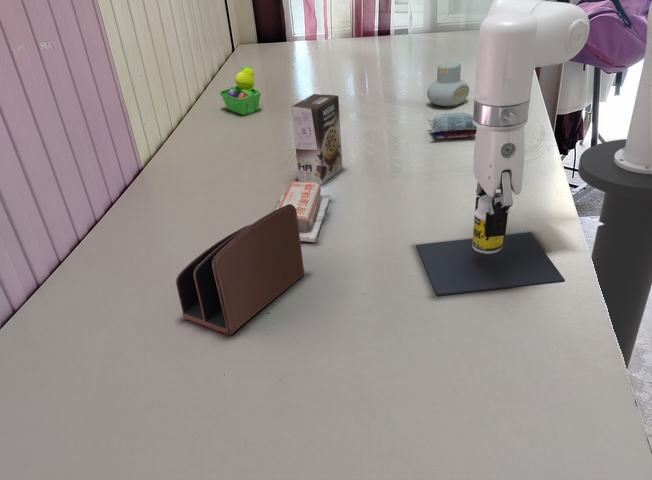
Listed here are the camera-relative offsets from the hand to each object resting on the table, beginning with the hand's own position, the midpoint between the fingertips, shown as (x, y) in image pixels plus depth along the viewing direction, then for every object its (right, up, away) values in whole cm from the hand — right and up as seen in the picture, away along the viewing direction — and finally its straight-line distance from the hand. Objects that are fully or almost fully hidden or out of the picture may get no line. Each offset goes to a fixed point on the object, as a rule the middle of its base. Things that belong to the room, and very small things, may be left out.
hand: (489, 226), depth 101 cm
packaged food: (+6, +32, +51) cm, 60 cm away
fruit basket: (-46, +49, +81) cm, 106 cm away
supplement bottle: (0, -3, +2) cm, 4 cm away
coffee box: (-26, +19, +39) cm, 51 cm away
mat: (+1, -5, +4) cm, 7 cm away
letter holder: (-39, -11, +3) cm, 41 cm away
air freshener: (+9, +46, +69) cm, 83 cm away
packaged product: (-31, +5, +23) cm, 39 cm away
